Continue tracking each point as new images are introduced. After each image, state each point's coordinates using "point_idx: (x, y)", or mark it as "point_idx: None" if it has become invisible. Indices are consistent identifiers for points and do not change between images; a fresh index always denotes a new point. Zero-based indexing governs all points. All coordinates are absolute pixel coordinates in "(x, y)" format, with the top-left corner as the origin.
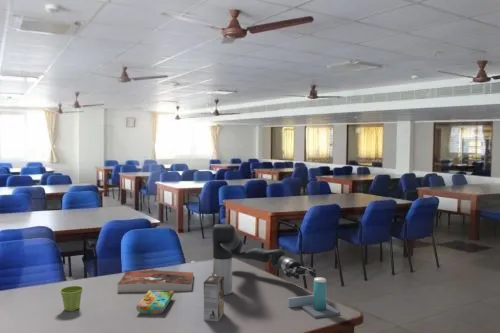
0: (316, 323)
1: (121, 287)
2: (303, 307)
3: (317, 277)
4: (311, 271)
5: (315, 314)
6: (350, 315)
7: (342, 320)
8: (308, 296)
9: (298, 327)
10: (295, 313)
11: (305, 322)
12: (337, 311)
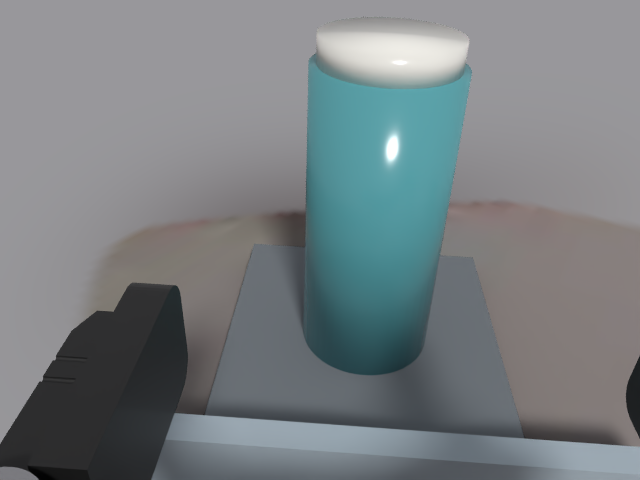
0: (486, 230)
1: None
2: (514, 405)
3: (395, 53)
4: (115, 416)
5: (456, 271)
6: (195, 235)
7: (302, 213)
8: (415, 431)
9: (620, 230)
10: (614, 380)
11: (558, 255)
12: (258, 257)
